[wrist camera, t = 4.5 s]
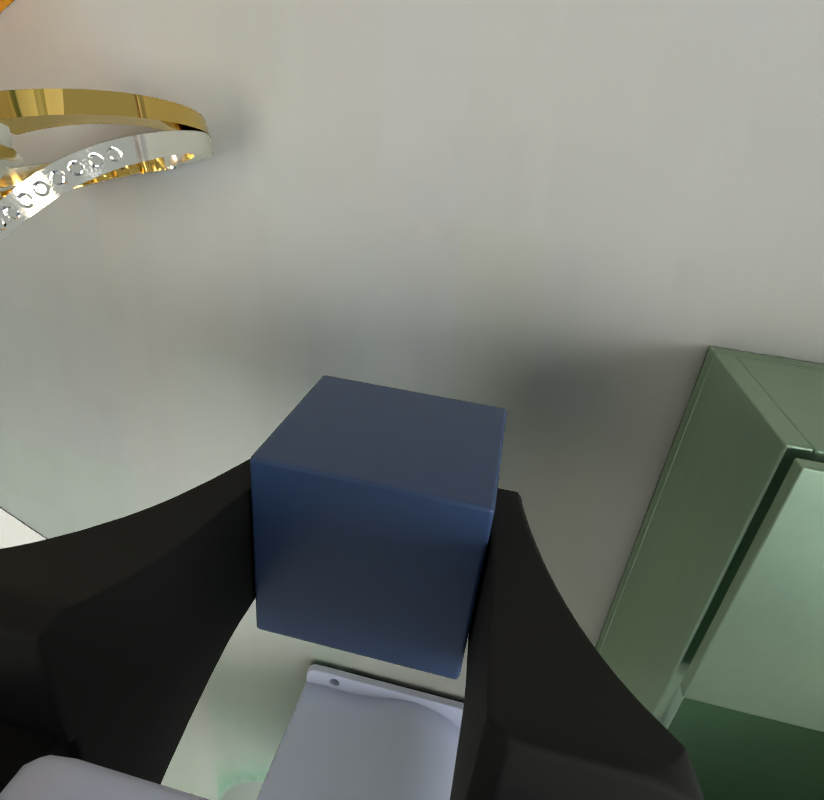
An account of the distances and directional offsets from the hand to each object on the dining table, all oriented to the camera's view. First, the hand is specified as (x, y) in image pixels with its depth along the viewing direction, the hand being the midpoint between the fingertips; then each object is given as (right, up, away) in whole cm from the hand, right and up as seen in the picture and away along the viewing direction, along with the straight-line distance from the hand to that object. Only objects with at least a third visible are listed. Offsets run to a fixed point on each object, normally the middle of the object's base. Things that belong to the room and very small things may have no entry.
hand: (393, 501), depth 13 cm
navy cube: (0, +1, +1) cm, 1 cm away
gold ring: (-8, +11, +5) cm, 14 cm away
